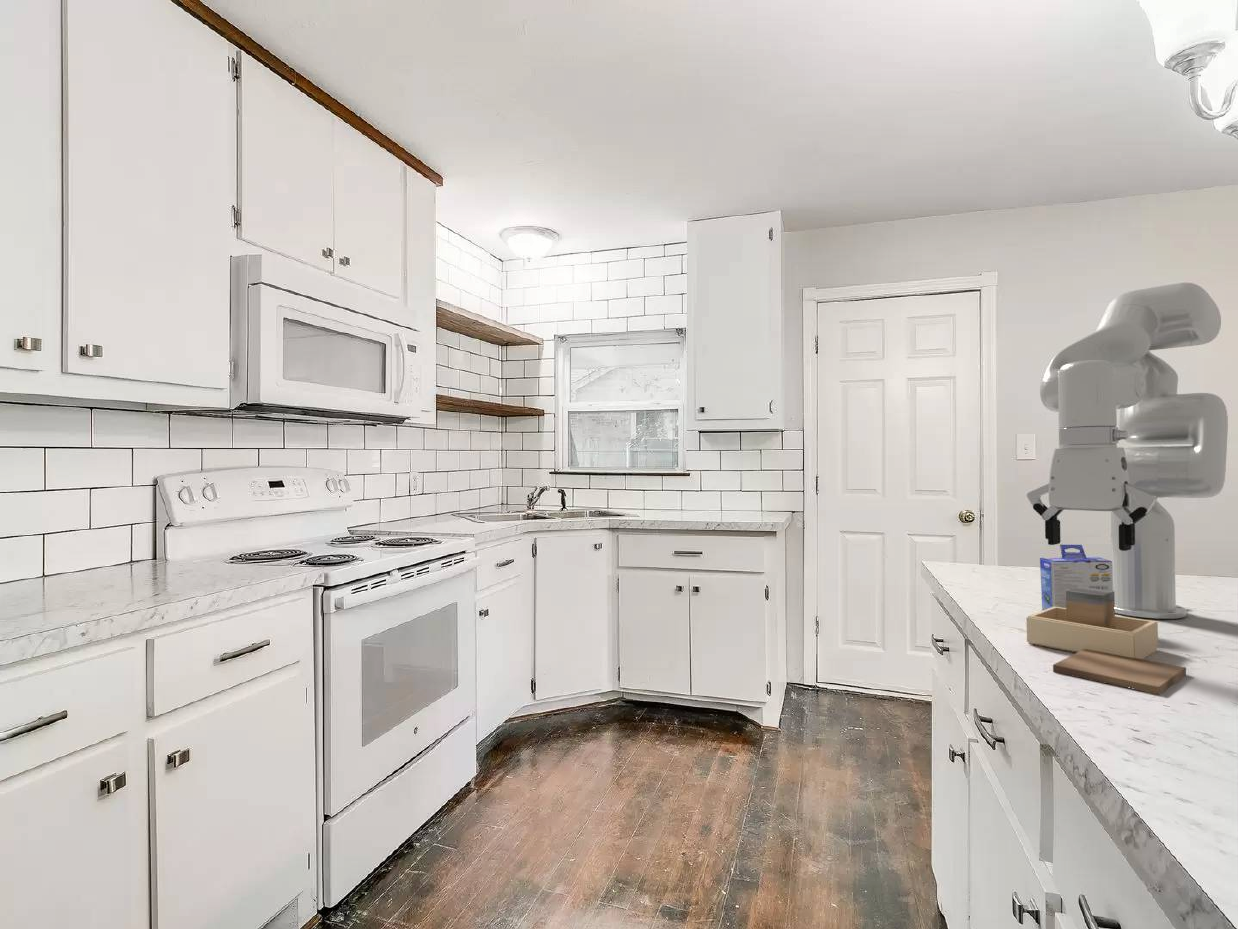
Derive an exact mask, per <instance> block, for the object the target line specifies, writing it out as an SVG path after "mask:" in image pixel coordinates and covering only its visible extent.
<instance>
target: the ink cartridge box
mask: <svg viewBox="0 0 1238 929" xmlns="http://www.w3.org/2000/svg"><path fill="white" fill-rule="evenodd" d="M1059 547H1060V548H1059V549H1060V553H1061V557H1040V558H1039V568H1040V583H1041V584H1040V589H1041V611H1043V610H1046V609H1048V608H1051V607H1061V608H1066V591H1067V590H1070V589H1073V588H1076V587H1085V588H1093V589H1101V590H1109V591H1113V572H1112V560H1108V559H1106V558H1103V557H1099V556H1095V557H1093V556H1091V557H1090V556H1086V553H1085V550H1084V547H1083V545H1082V544H1059ZM1070 549H1075V550H1079V552H1076V551H1075V552H1070V551H1068V552H1067V551H1065V550H1070Z"/></svg>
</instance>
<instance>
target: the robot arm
mask: <svg viewBox="0 0 1238 929" xmlns="http://www.w3.org/2000/svg"><path fill="white" fill-rule="evenodd" d="M1221 327H1222V317H1221V311H1220V309H1219V306H1218V304H1216V302H1215V301H1214V299H1213V298H1212V297H1211V296H1210V294H1209V293H1208V292H1207V291H1206V290H1205V289H1204V288H1203V287H1202V286H1201V285H1199V284H1196V283H1193V282H1177V283H1172V284H1166V285H1160V286H1155V287H1148V288H1147V287H1146V288H1142V289H1135V290H1132V291H1127V292H1124V293H1122V294H1120V295H1118V296H1116V297H1115V298H1113V299H1112V300H1111V301H1110V302H1109V304H1108V305H1107V307H1106V310H1105V311H1104V314H1103V315H1102V318H1101V320H1100V322H1099V323H1098V326H1097V328H1096V330H1095V332H1093V333H1090V334H1088V335H1087V336H1084V337H1083V338H1081V339H1079V340H1077V341H1075V342H1074V343H1072V344H1070V345H1068V346H1066V347H1065V348H1064V349H1062V350H1060V351H1059V352H1057V354H1055V355H1054V356H1053V358H1052V359H1051V361H1050V363H1049V364H1048V366H1047V367H1046V370H1045V372H1044V374H1043V376H1042V379H1041V382H1040V387H1039V394H1040V400H1041V402H1042V404H1043V406H1044V407H1046V409H1047V410H1049V411H1052V412H1055V413H1058V448H1054V450H1053V454H1052V459H1051V463H1050V470H1049V479H1048V480H1049V481H1048V483H1046V484H1044V485H1042V486H1040V487H1038V488H1036V489H1033V490H1031V491H1029V492H1027V494H1026V497H1027V499H1028V501H1029V503H1030V504H1031V505H1032V508H1033V510H1034V511H1035V512H1036V513H1037V514H1038V515H1039V516H1041V519H1042V520H1044V530H1045V532H1044V537H1045V540H1047V544H1048V545H1050V546H1055V545H1060V544H1061V520H1060V519H1058V516H1060V515H1061V514H1062V513H1063V512H1064V510H1068V511H1085V512H1087V511H1089V512H1090V511H1091V512H1110V526H1111V527H1110V532H1111V533H1110V534H1111V536H1110V537H1111V540H1110V542H1111V561H1112V572H1113V591H1114V594H1115V614H1119V615H1123V616H1127V617H1133V618H1142V619H1143V618H1146V619H1156V620H1157V619H1159V620H1160V619H1161V620H1163V619H1164V620H1170V619H1171V620H1174V619H1175V620H1177V619H1182V618H1185V617H1187V615H1188V614H1187V609H1186V608H1184V607H1183V606H1180V605H1176V604H1177V603H1176V602H1177V600H1176V599H1177V597H1176V596H1177V594H1176V546H1175V544H1176V543H1175V537H1176V536H1175V534H1176V533H1175V531H1176V529H1175V522H1174V519H1173V517H1172V515H1171V514H1170V512H1169V511H1168V510H1167V509H1166V508H1165V506H1163V505H1162V504H1161V503H1160V502H1159V500H1158V499H1159V498H1161V499H1162V498H1163V499H1164V498H1172V499H1173V498H1174V499H1175V498H1179V499H1180V498H1183V499H1208V498H1213V497H1216V496H1217V495H1219V494H1220V493H1221V492H1222V490H1223V488H1224V484H1225V482H1226V471H1227V470H1226V468H1227V450H1228V449H1227V448H1228V433H1229V432H1228V430H1229V421H1228V420H1229V419H1228V416H1229V415H1228V410H1227V406H1226V404H1225V402H1224V401H1223V399H1222V398H1221V397H1220V396H1218V395H1217V394H1214V393H1209V392H1196V393H1195V392H1194V393H1178V383H1179V376H1178V373H1177V371H1176V370H1175V369H1174V368H1173V367H1172V366H1171V365H1170V364H1169V363H1168V362H1166V361H1165V360H1163V359H1162V358H1160V357H1158V356H1157V355H1155V354H1154V353H1153V352H1151V351H1156V350H1157V351H1159V350H1168V349H1176V348H1184V347H1194V346H1195V347H1196V346H1201V345H1207V344H1209V343H1211V342H1212V341H1213V340H1215V339H1216V338H1217V337H1218V335H1219V333H1220V330H1221ZM1117 410H1119V418H1118V420H1119V422H1118V421H1117ZM1117 422H1118V425H1117ZM1117 426H1118V427H1117ZM1122 440H1124V441H1125V442H1127V443H1128V444H1133V445H1141V446H1134V447H1126V448H1124V447H1119V446H1118V444H1119V442H1120V441H1122ZM1142 445H1145V446H1142ZM1146 445H1147V446H1146ZM1150 445H1151V446H1150ZM1157 445H1158V446H1157ZM1159 445H1160V446H1159ZM1162 445H1164V446H1162ZM1165 445H1176V446H1165ZM1177 445H1178V446H1177ZM1185 445H1186V446H1185ZM1047 494H1048V502H1049V507H1048V506H1047V505H1046V504H1044V503H1043V502H1042V500H1041V498H1042V497H1043V496H1045V495H1047Z"/></svg>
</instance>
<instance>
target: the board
mask: <svg viewBox="0 0 1238 929" xmlns="http://www.w3.org/2000/svg"><path fill="white" fill-rule="evenodd" d="M1186 667H1187V666H1179V665H1175V664H1169V663H1164V662H1157V661H1154V660H1148V659H1138V658H1131V657H1125V656H1120V655H1115V654H1109V653H1104V652H1099V651H1093V650H1088V649H1083V650H1081V651H1079V652H1077V653H1075V652H1074V653H1073V654H1071V655H1070V656H1068V657H1066V658H1063V659H1062V660H1060V661H1058V662H1056V663H1054V664H1052V668H1053V669H1052V672H1053V673H1058V674H1063V675H1066V676H1070V675H1074V676H1073V677H1075V676H1078V677H1077V678H1080V677H1082V678H1081V679H1084V678H1086V680H1089V679H1090V680H1089V681H1093V682H1094V681H1095V682H1098V681H1101V682H1100V683H1102V682H1105V683H1104V684H1107V683H1109V685H1112V684H1113V686H1116V685H1118V686H1117V687H1121V686H1123V687H1122V688H1125V687H1130V688H1134V689H1137V690H1136V691H1139V690H1141V691H1140V692H1144V693H1149V694H1153V693H1155V694H1154V695H1157V694H1159V695H1160V693H1161V694H1162V693H1164V691H1166V690H1168V689H1169V688H1170V687H1171V686H1173V685H1174V684H1176V683H1177V682H1178V681H1180V680H1181V679H1182V678H1184V677H1185V676H1186V675H1187V668H1186ZM1130 688H1129V689H1130ZM1134 689H1133V690H1134Z"/></svg>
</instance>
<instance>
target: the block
mask: <svg viewBox="0 0 1238 929" xmlns="http://www.w3.org/2000/svg"><path fill="white" fill-rule="evenodd" d="M1115 615H1116V613H1115V594H1114V591H1109V590H1101V589H1093V588H1085V587H1076V588H1073V589H1070V590H1067V591H1066V621H1067V622H1073V623H1079V624H1086V625H1092V626H1098V627H1104V628H1110V629H1115Z"/></svg>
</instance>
